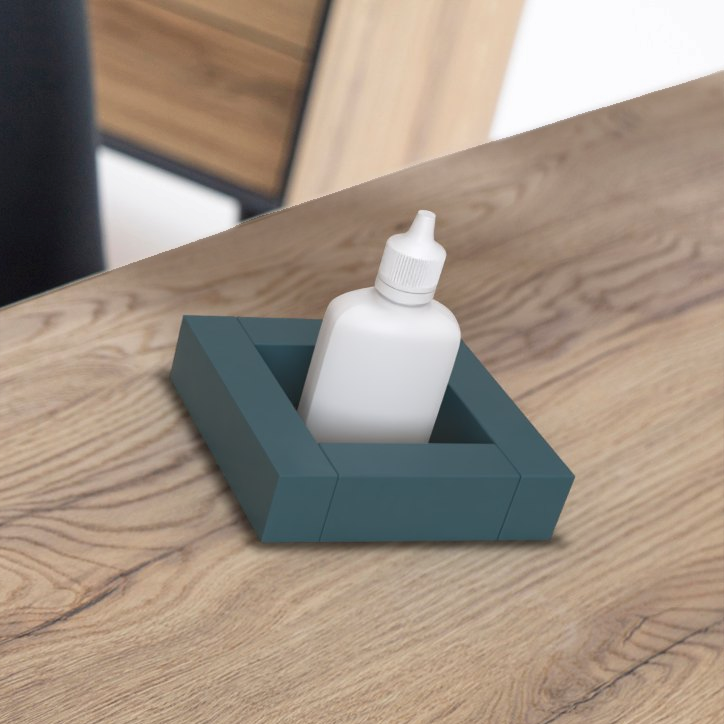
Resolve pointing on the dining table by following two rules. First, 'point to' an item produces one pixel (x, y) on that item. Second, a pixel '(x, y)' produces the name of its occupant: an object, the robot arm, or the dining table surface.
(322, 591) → the dining table surface
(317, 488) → the frame
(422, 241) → the eye dropper bottle
